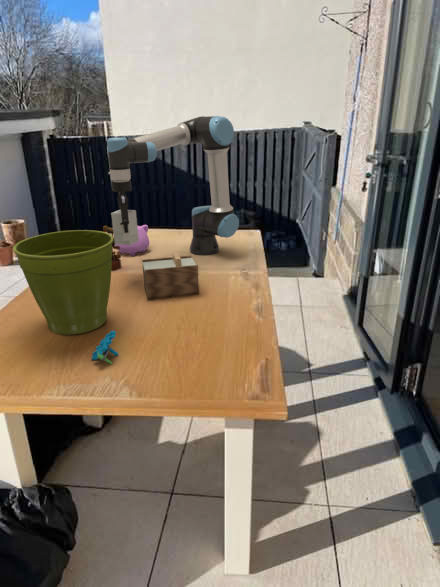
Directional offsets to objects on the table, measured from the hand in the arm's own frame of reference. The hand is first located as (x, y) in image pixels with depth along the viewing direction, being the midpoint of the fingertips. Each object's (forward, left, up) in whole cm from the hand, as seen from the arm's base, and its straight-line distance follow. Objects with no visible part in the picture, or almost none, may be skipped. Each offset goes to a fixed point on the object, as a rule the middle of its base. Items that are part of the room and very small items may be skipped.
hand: (126, 237), depth 171 cm
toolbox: (-15, +14, -20) cm, 28 cm away
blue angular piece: (+11, +59, -20) cm, 64 cm away
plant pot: (+20, +34, -20) cm, 44 cm away
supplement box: (0, 0, -2) cm, 2 cm away
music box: (+9, -23, -20) cm, 32 cm away
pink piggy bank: (-4, -47, -20) cm, 51 cm away
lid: (-15, +14, -9) cm, 23 cm away
